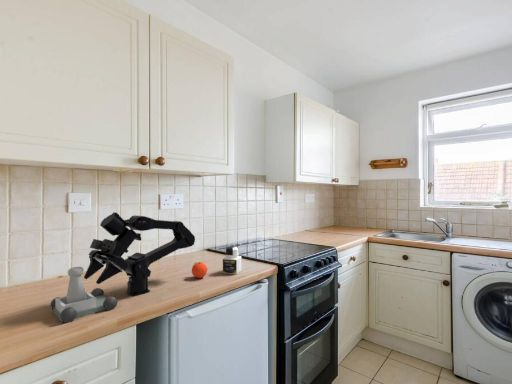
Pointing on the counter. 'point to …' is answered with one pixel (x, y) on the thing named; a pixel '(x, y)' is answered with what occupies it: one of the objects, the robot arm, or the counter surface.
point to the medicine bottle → (232, 261)
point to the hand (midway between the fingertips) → (90, 280)
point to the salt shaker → (75, 286)
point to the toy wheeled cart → (82, 305)
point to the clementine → (199, 270)
